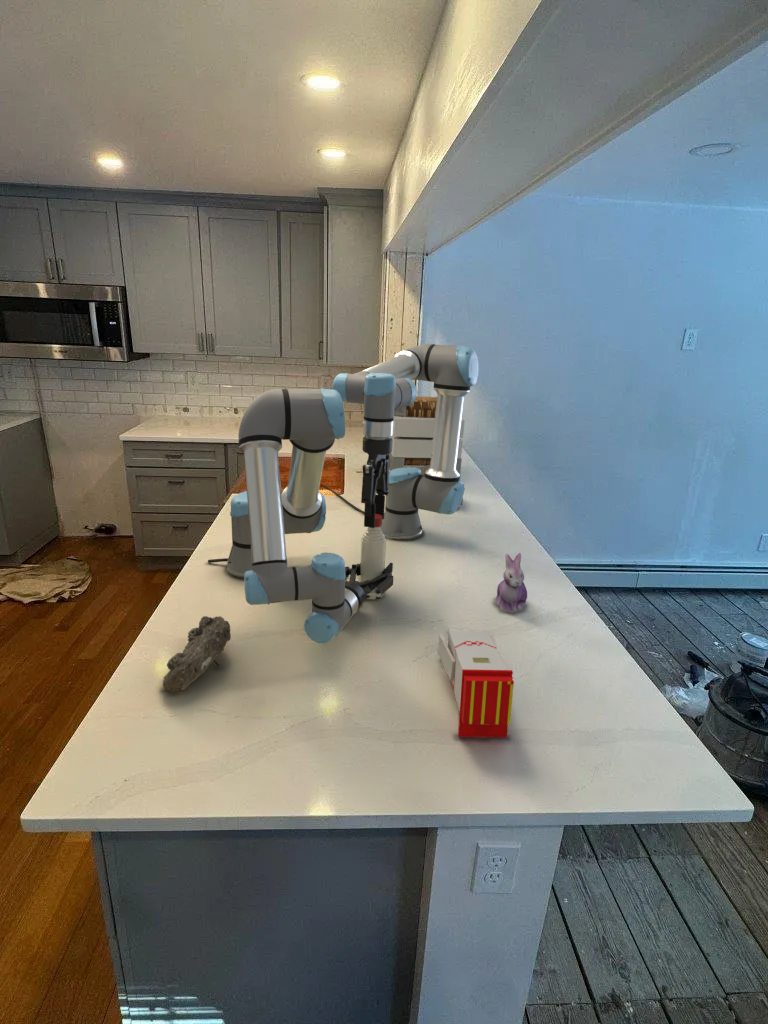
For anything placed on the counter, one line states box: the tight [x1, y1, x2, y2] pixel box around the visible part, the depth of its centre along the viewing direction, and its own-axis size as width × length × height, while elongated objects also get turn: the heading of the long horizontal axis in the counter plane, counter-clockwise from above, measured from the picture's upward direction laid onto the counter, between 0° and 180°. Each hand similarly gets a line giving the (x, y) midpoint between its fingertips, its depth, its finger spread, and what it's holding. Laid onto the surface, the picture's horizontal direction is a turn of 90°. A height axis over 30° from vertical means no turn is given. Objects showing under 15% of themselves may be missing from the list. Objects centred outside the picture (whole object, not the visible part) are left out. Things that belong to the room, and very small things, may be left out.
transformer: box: [386, 395, 465, 481], centre depth 268 cm, size 34×33×41 cm
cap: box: [375, 514, 382, 527], centre depth 150 cm, size 4×4×2 cm
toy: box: [437, 628, 515, 738], centre depth 117 cm, size 12×13×30 cm
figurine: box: [495, 552, 528, 614], centre depth 152 cm, size 9×10×15 cm
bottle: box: [359, 527, 387, 600], centre depth 154 cm, size 7×7×23 cm
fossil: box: [162, 615, 232, 693], centre depth 122 cm, size 22×10×15 cm
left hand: (379, 564), depth 160 cm, fingers closed on bottle, 7 cm apart
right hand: (374, 522), depth 150 cm, fingers open, 6 cm apart
